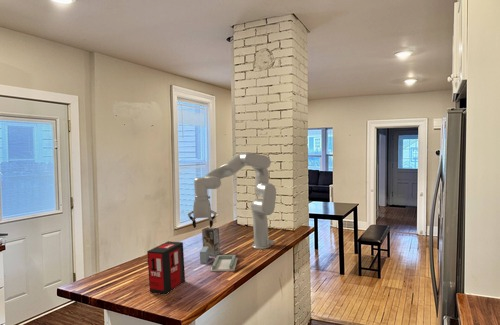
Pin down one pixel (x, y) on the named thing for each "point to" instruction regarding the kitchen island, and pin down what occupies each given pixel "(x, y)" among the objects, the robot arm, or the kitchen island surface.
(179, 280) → the cleaning product box
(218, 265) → the grey tray
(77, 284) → the kitchen island surface
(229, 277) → the kitchen island surface
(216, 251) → the coffee box
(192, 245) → the kitchen island surface
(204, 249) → the pale grey cuboid block
